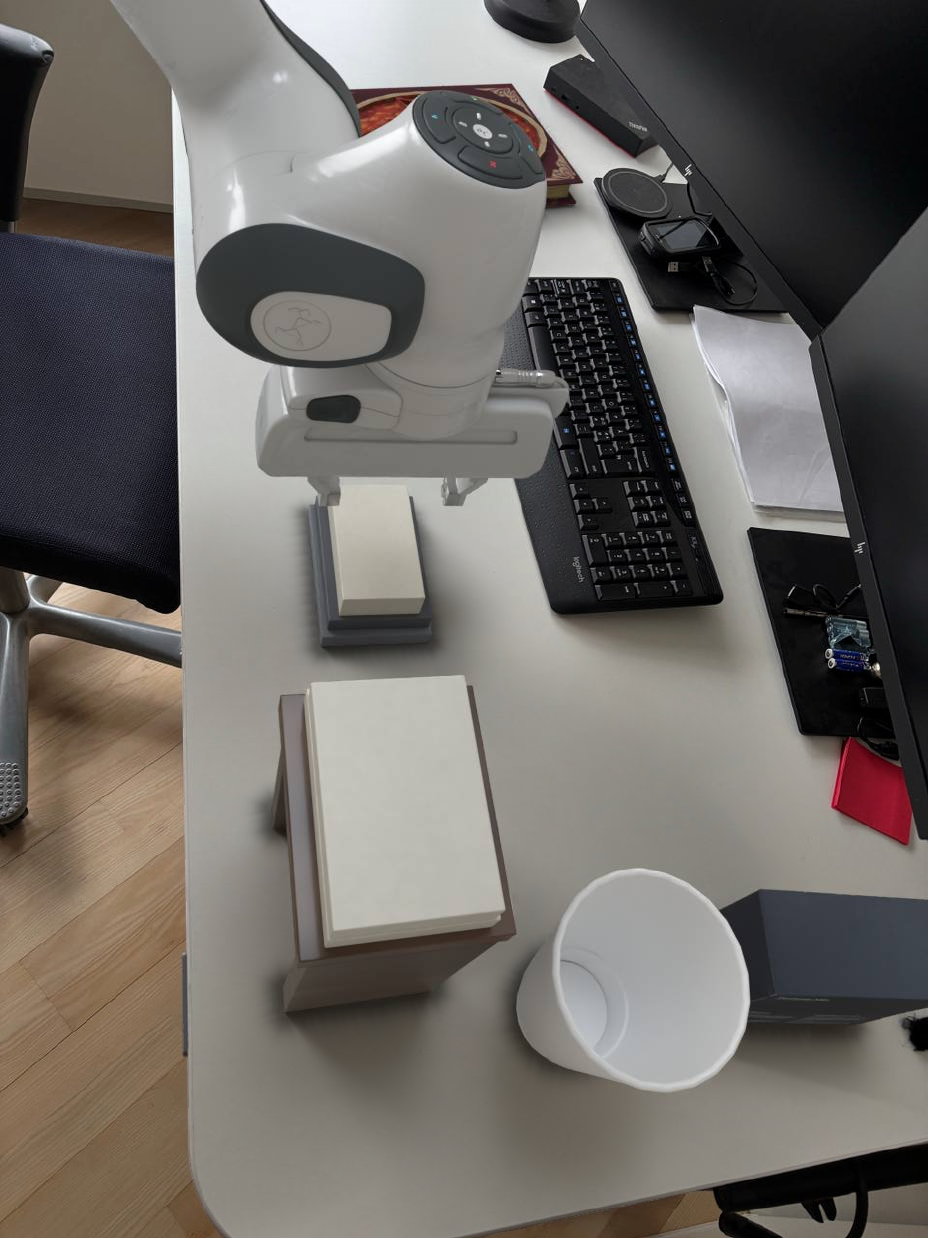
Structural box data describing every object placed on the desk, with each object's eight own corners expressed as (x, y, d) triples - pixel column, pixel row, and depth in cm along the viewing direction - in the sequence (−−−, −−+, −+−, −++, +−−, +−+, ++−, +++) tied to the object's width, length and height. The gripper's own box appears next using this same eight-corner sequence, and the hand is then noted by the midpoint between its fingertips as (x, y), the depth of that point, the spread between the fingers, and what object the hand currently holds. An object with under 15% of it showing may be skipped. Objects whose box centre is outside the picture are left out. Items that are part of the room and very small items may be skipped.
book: (503, 105, 119) (513, 66, 115) (577, 210, 111) (591, 172, 106) (294, 115, 108) (296, 72, 104) (359, 232, 100) (364, 191, 96)
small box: (835, 932, 72) (935, 897, 62) (853, 1026, 69) (963, 1006, 59) (681, 924, 70) (759, 886, 60) (692, 1021, 66) (777, 999, 56)
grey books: (308, 514, 80) (311, 492, 78) (408, 515, 83) (414, 493, 80) (320, 646, 74) (324, 627, 72) (428, 642, 77) (436, 624, 74)
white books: (303, 701, 50) (309, 673, 47) (453, 693, 52) (467, 665, 49) (324, 948, 44) (332, 934, 41) (492, 927, 46) (511, 912, 43)
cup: (542, 1142, 60) (636, 1141, 47) (450, 976, 64) (512, 931, 51) (673, 1041, 65) (792, 1014, 52) (581, 893, 69) (669, 832, 56)
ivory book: (326, 502, 77) (330, 483, 75) (402, 503, 79) (407, 484, 77) (339, 616, 72) (343, 599, 70) (419, 614, 74) (425, 597, 72)
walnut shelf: (264, 808, 67) (279, 694, 50) (411, 795, 70) (472, 684, 53) (276, 1013, 60) (298, 963, 44) (438, 990, 63) (517, 934, 47)
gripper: (567, 338, 62) (513, 466, 73) (256, 322, 56) (251, 464, 68) (588, 410, 59) (528, 532, 70) (261, 401, 53) (256, 535, 65)
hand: (390, 499), depth 69 cm, fingers open, 8 cm apart
